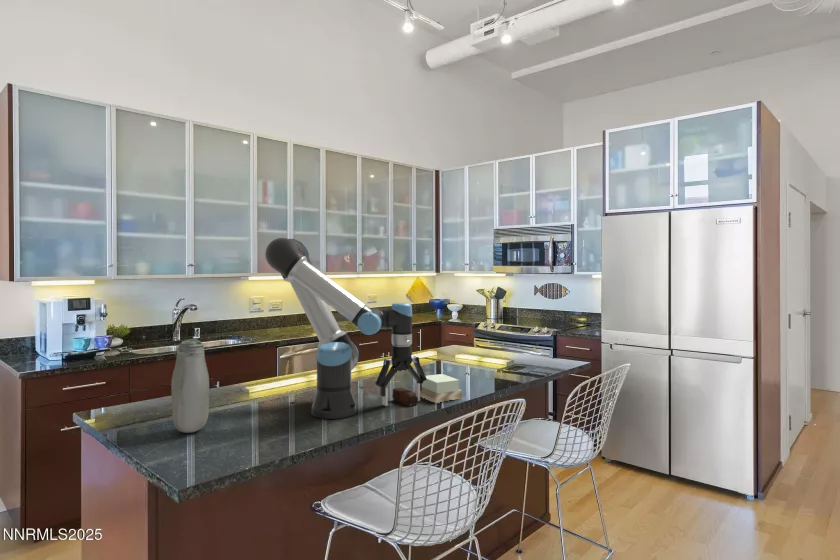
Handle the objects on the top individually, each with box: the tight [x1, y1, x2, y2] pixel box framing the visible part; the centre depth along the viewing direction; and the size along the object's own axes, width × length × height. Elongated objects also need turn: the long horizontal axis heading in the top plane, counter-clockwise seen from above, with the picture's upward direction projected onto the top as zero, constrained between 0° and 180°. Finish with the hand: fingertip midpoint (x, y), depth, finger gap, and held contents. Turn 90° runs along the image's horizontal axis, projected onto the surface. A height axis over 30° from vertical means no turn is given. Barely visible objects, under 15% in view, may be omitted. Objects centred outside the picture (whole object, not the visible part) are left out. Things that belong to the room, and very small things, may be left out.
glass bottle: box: [170, 338, 210, 434], centre depth 157 cm, size 10×10×28 cm
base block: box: [420, 387, 463, 404], centre depth 200 cm, size 12×12×4 cm
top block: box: [422, 373, 460, 393], centre depth 200 cm, size 10×12×4 cm
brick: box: [392, 387, 419, 407], centre depth 192 cm, size 11×4×5 cm, turn 39°
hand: (401, 402), depth 191 cm, fingers open, 13 cm apart
